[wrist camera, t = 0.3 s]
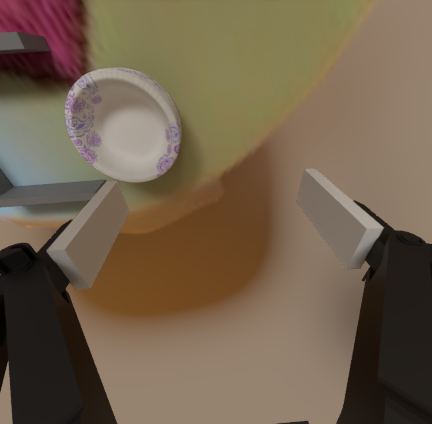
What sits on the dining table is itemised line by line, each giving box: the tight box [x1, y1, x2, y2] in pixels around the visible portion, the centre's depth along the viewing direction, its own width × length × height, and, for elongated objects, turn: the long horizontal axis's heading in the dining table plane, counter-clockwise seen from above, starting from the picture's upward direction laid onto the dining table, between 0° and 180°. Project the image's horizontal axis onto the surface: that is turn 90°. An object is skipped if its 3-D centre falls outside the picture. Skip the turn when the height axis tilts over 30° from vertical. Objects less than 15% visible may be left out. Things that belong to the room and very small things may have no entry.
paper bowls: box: [65, 68, 182, 183], centre depth 31 cm, size 15×15×8 cm
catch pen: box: [0, 32, 106, 207], centre depth 32 cm, size 23×20×5 cm
